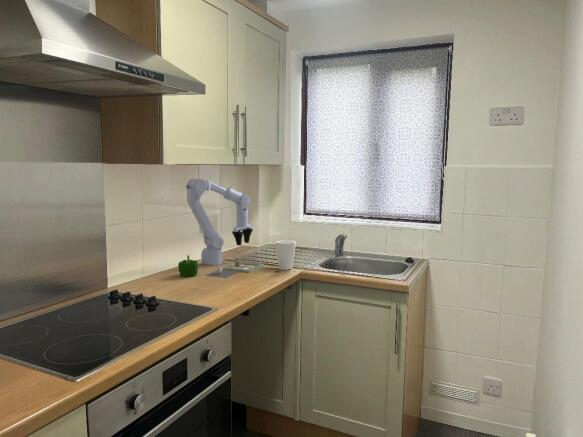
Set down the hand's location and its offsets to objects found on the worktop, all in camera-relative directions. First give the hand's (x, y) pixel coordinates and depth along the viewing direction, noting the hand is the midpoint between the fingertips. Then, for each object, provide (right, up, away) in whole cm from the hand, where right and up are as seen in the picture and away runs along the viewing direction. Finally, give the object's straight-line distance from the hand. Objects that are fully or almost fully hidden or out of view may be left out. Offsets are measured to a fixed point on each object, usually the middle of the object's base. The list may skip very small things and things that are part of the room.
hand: (242, 244), depth 227 cm
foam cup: (+22, -11, -13) cm, 28 cm away
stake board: (-6, -13, -29) cm, 32 cm away
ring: (+2, -11, -17) cm, 21 cm away
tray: (+2, -12, -17) cm, 21 cm away
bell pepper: (-20, -14, -31) cm, 40 cm away
